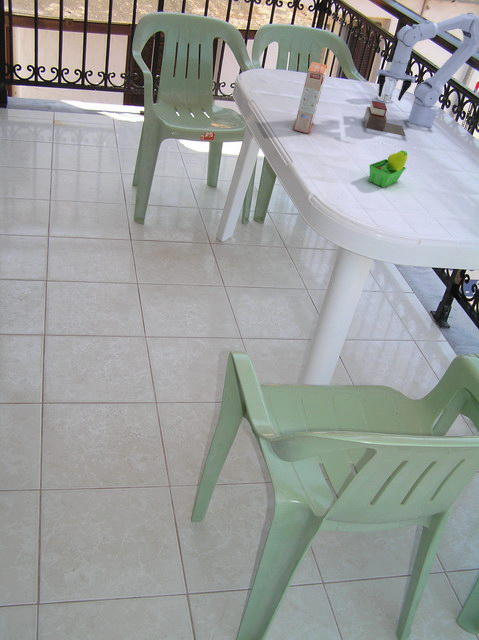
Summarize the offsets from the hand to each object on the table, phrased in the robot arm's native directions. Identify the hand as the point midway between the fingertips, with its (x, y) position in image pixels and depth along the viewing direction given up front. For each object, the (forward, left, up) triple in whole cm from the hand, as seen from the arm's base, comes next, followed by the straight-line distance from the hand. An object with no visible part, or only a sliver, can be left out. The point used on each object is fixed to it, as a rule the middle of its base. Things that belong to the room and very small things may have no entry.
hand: (389, 97), depth 260 cm
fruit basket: (+5, +64, -10) cm, 65 cm away
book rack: (0, +11, -9) cm, 14 cm away
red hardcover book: (+5, +11, -3) cm, 12 cm away
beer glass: (-4, -33, -10) cm, 35 cm away
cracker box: (+31, +26, -10) cm, 42 cm away
